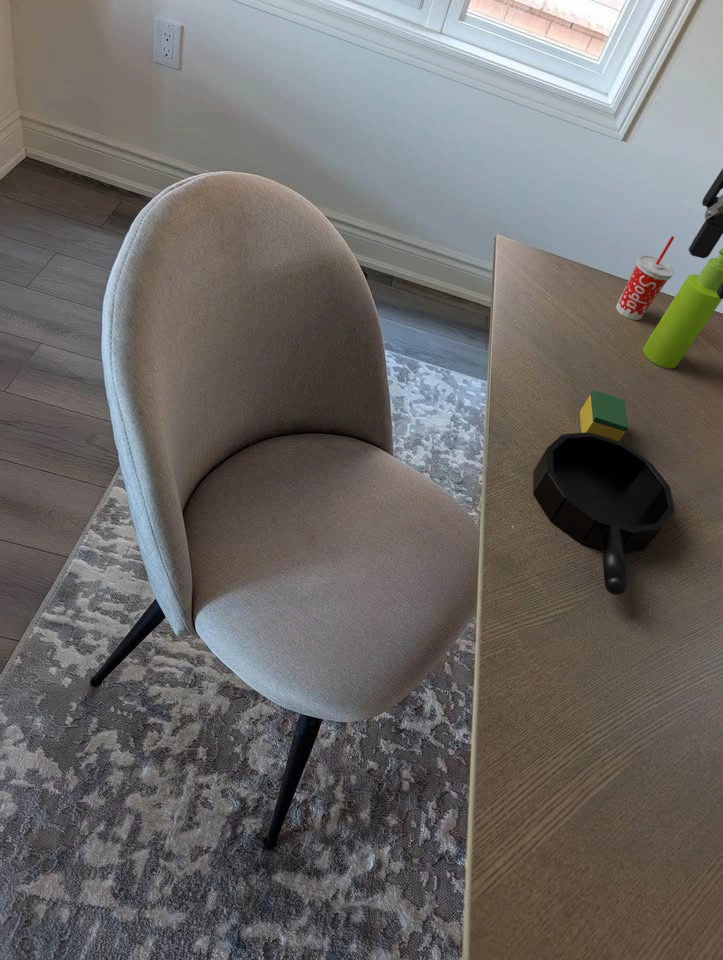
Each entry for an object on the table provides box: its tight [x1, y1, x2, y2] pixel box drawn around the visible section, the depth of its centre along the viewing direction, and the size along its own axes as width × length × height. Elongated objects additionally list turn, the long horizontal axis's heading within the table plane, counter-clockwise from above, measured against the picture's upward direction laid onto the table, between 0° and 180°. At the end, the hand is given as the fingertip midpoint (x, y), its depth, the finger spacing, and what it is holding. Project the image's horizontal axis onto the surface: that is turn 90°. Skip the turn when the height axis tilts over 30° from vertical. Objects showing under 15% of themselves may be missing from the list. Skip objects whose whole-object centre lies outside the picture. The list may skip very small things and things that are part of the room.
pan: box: [532, 432, 675, 596], centre depth 86 cm, size 24×16×4 cm, turn 170°
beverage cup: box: [615, 235, 675, 321], centre depth 122 cm, size 6×6×14 cm
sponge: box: [579, 389, 629, 442], centre depth 99 cm, size 6×4×4 cm
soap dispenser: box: [642, 246, 723, 369], centre depth 112 cm, size 6×7×20 cm
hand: (710, 275), depth 79 cm, fingers open, 8 cm apart
